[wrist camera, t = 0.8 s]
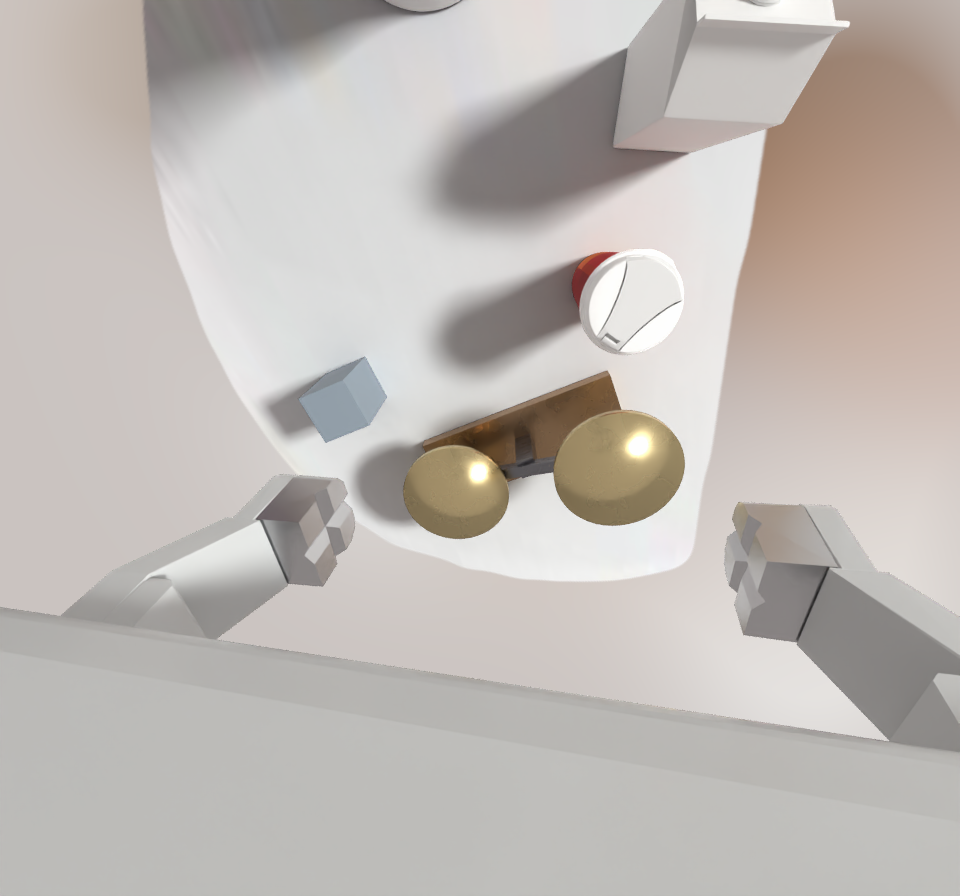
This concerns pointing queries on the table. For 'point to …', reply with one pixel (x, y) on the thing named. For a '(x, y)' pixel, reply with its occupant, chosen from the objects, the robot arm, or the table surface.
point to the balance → (548, 462)
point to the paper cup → (628, 299)
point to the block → (344, 400)
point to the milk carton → (718, 70)
